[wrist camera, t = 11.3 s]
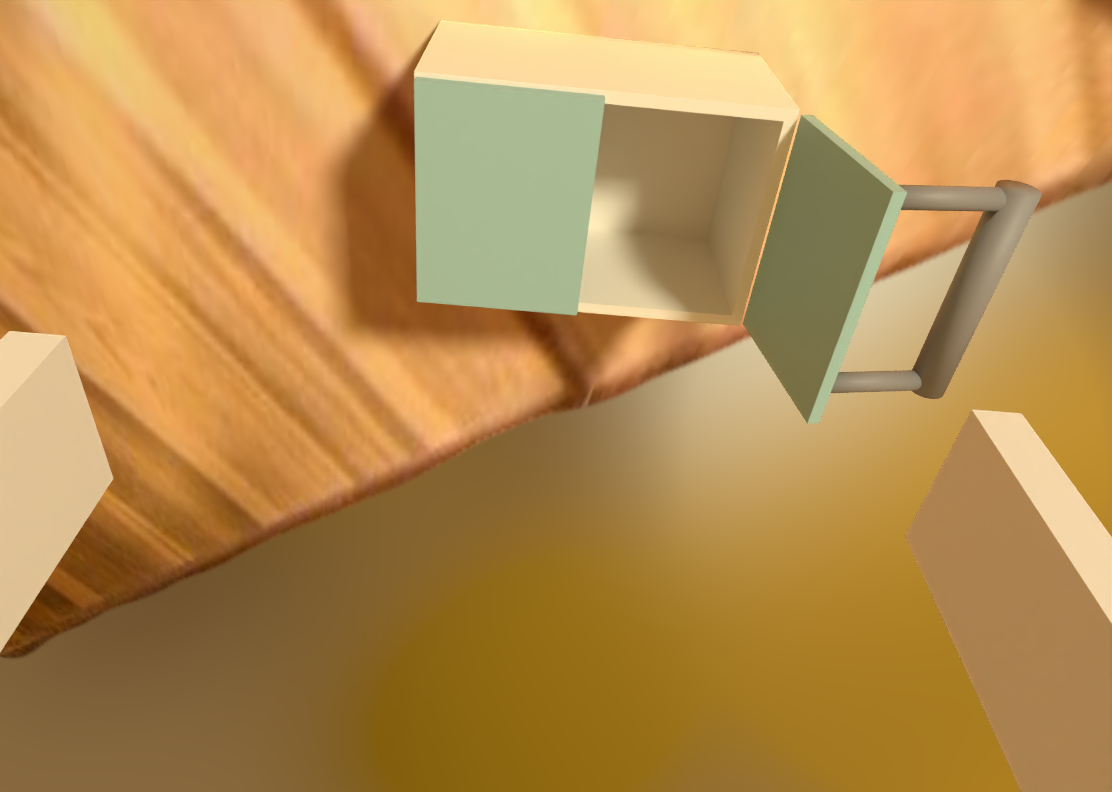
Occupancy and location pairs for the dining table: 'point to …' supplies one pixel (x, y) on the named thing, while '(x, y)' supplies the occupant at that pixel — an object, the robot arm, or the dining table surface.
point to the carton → (653, 159)
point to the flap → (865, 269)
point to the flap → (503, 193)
